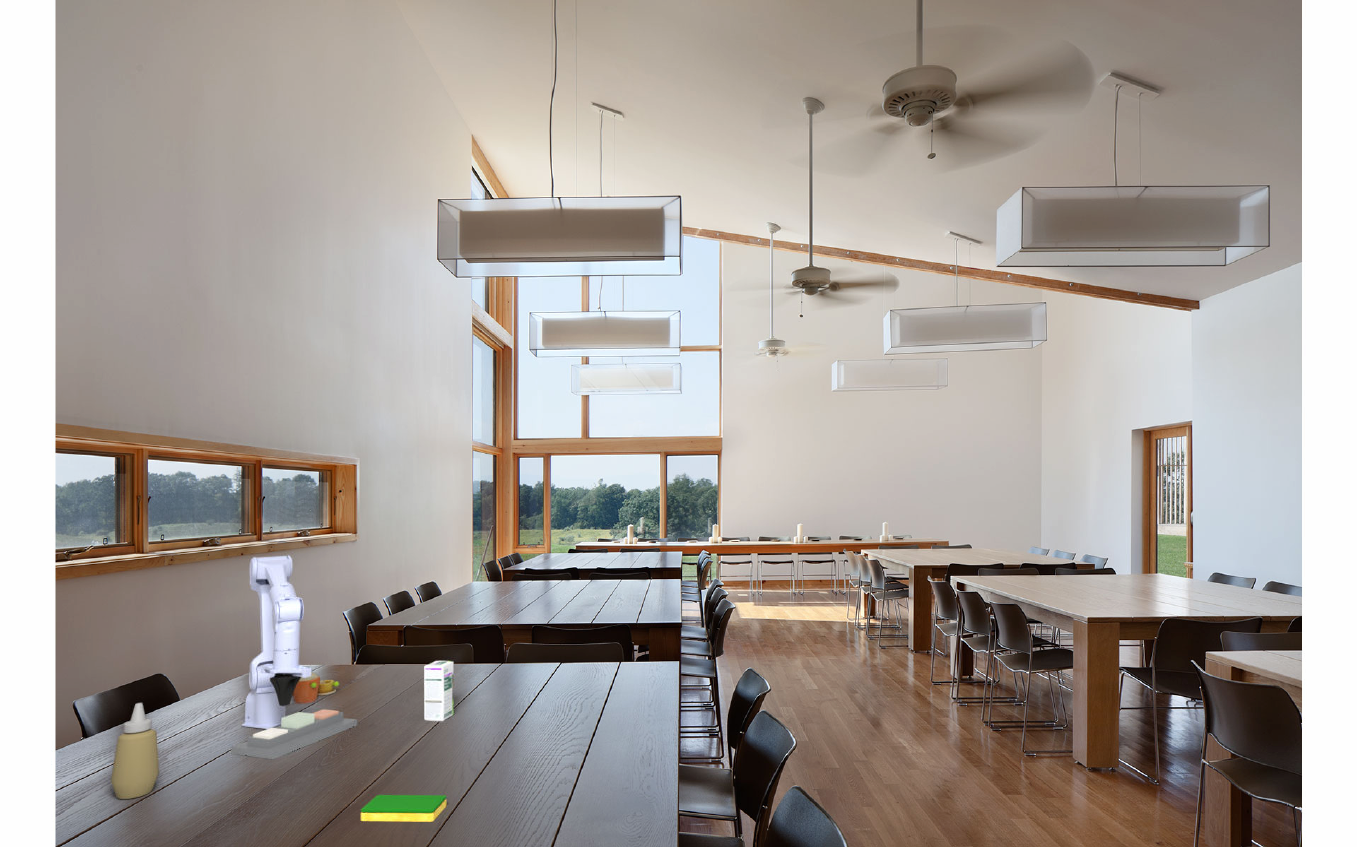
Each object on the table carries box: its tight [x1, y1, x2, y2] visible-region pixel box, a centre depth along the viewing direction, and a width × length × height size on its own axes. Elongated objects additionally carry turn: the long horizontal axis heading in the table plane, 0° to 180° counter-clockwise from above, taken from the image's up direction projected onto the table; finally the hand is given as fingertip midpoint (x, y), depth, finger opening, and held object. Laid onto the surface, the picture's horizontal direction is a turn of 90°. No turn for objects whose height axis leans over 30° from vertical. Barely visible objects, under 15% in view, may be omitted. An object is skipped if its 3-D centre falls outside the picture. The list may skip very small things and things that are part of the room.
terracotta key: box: [311, 709, 340, 719], centre depth 194 cm, size 5×5×2 cm
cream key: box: [252, 727, 288, 739], centre depth 179 cm, size 5×5×2 cm
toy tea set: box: [292, 671, 340, 704], centre depth 225 cm, size 26×16×10 cm, turn 90°
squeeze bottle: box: [110, 702, 160, 800], centre depth 154 cm, size 8×8×18 cm
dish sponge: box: [360, 794, 447, 823], centre depth 142 cm, size 7×14×2 cm, turn 87°
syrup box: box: [423, 660, 455, 722], centre depth 202 cm, size 6×6×14 cm
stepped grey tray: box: [230, 711, 358, 760], centre depth 186 cm, size 13×26×4 cm, turn 160°
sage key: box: [281, 711, 315, 729], centre depth 187 cm, size 5×5×2 cm
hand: (284, 704), depth 185 cm, fingers closed
